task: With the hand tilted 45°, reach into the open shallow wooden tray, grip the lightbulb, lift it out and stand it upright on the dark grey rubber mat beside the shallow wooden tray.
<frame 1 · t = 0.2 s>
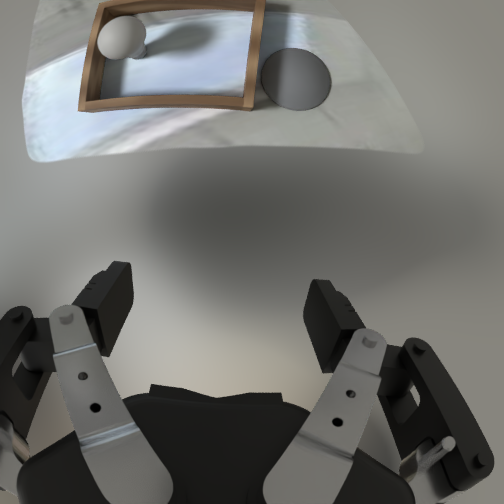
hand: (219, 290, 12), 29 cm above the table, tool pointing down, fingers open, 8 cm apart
mat: (296, 78, 33), on the table
shallow wooden tray: (172, 51, 29), on the table
lightbulb: (140, 53, 29), resting in shallow wooden tray
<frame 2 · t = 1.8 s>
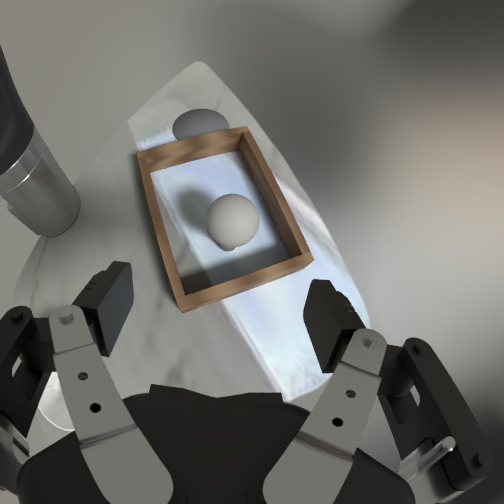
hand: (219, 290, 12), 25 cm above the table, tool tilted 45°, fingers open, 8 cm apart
mat: (200, 127, 45), on the table
shallow wooden tray: (215, 214, 40), on the table
lightbulb: (227, 245, 39), resting in shallow wooden tray
white cup: (94, 386, 29), on the table
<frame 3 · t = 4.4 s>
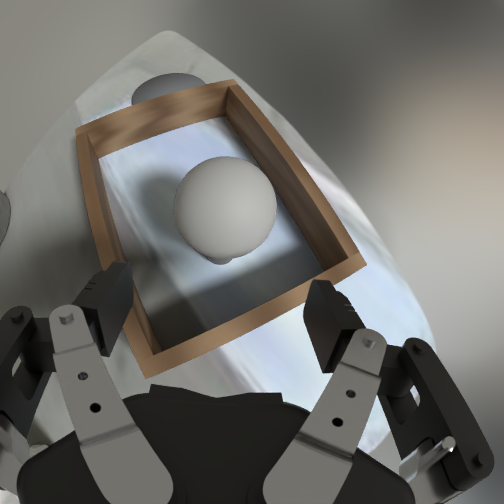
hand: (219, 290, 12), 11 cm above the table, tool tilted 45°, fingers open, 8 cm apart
mat: (169, 94, 30), on the table
shallow wooden tray: (196, 207, 25), on the table
lightbulb: (219, 254, 24), resting in shallow wooden tray
white cup: (56, 473, 13), on the table
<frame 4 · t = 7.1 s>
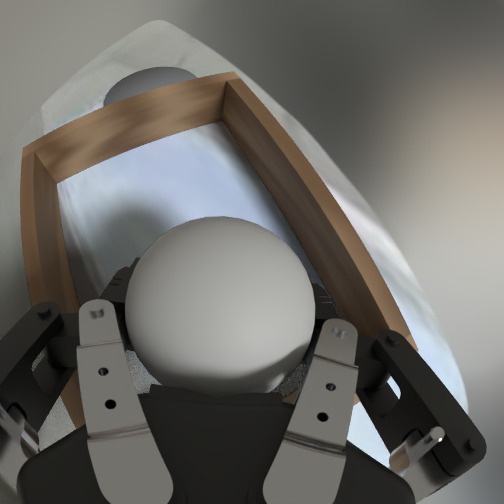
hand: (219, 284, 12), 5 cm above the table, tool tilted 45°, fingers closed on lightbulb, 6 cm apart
mat: (151, 93, 23), on the table
shallow wooden tray: (181, 259, 17), on the table
lightbulb: (215, 330, 16), resting in shallow wooden tray, touching gripper
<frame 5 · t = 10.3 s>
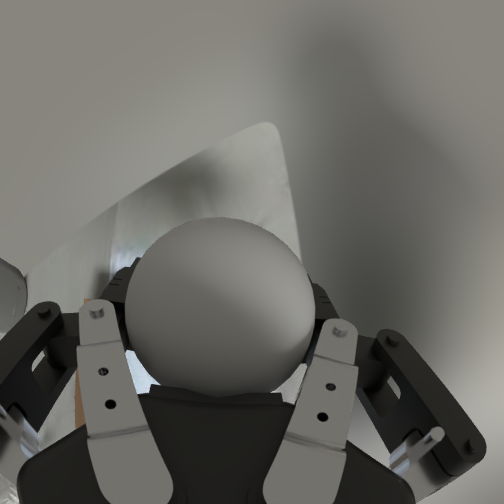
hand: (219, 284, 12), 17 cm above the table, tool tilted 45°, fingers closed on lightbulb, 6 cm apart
shallow wooden tray: (169, 426, 23), on the table
lightbulb: (215, 331, 16), point 12 cm above the table, touching gripper
white cup: (12, 477, 14), on the table
when the fingers open (6 cm above the table, at t = 14.0 s): lightbulb stays where it is, resting on mat.
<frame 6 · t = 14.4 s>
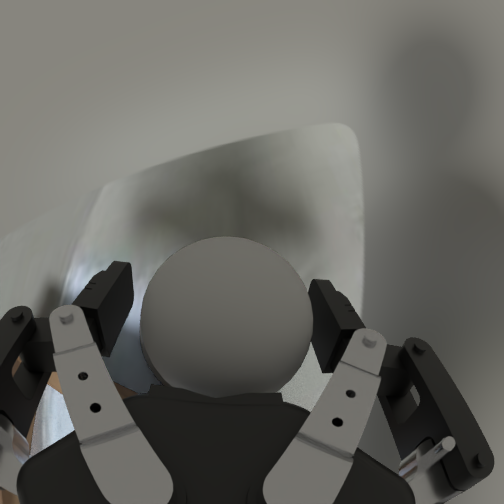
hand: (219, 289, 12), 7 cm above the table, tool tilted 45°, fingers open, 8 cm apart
lightbulb: (216, 334, 17), resting on mat
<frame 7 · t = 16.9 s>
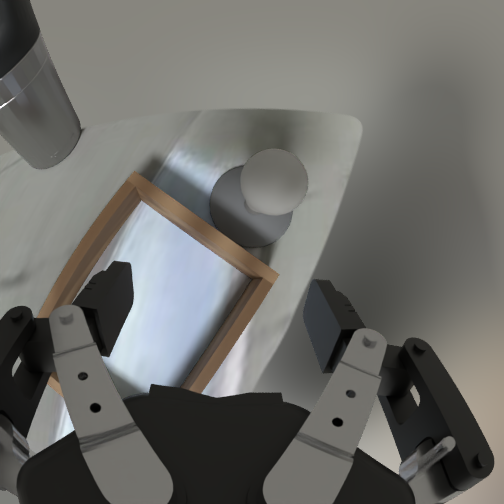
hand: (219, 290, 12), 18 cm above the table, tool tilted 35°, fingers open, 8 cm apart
mat: (252, 205, 32), on the table
shallow wooden tray: (140, 319, 27), on the table
lightbulb: (253, 206, 32), resting on mat
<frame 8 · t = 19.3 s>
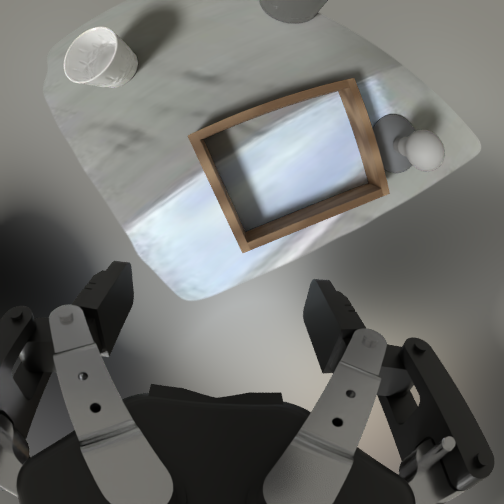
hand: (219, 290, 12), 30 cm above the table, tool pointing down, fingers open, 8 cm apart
mat: (395, 143, 38), on the table
shallow wooden tray: (292, 159, 39), on the table
lightbulb: (395, 144, 38), resting on mat
white cup: (118, 68, 30), on the table
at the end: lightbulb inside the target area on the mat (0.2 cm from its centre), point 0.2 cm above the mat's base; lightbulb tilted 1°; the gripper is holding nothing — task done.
